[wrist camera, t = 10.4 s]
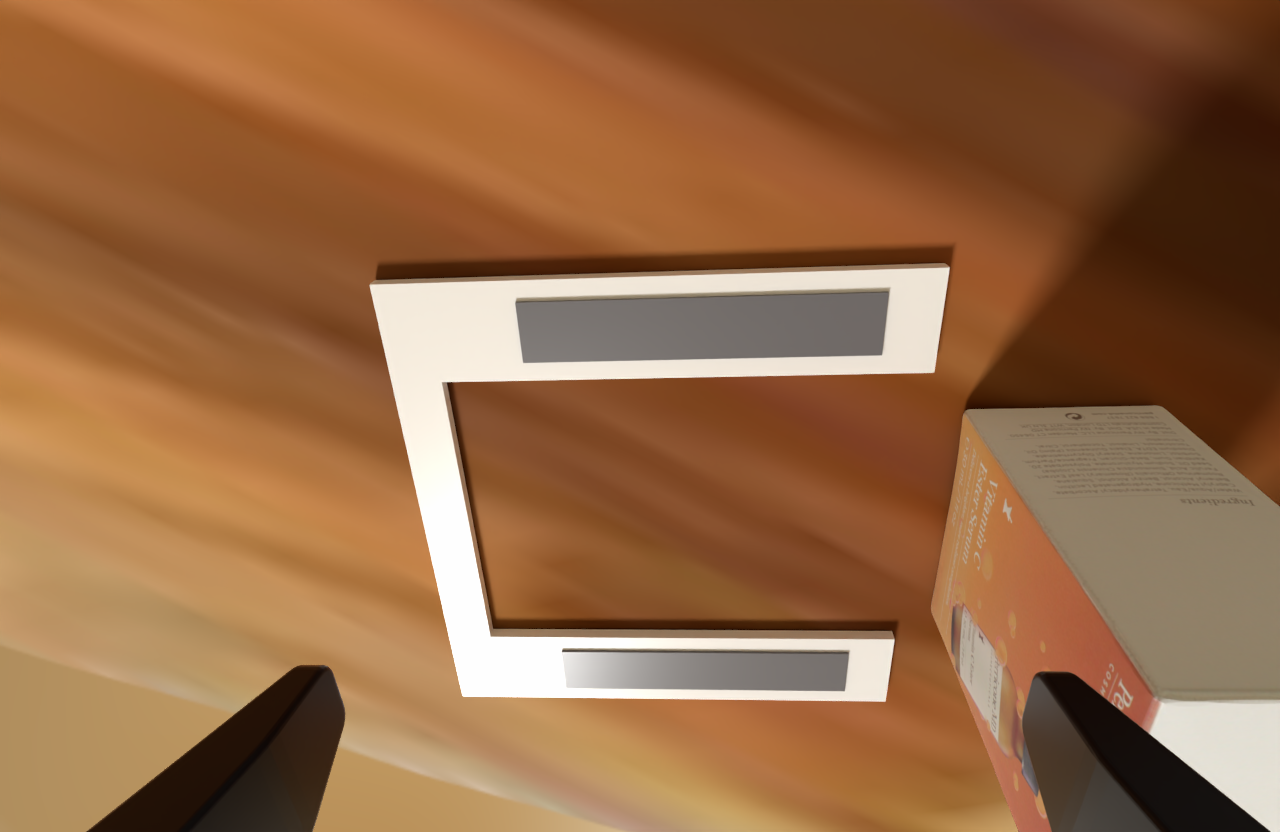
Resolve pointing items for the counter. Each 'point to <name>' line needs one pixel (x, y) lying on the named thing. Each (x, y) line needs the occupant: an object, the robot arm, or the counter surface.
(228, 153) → the counter surface
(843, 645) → the bracket
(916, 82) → the counter surface
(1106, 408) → the small box
